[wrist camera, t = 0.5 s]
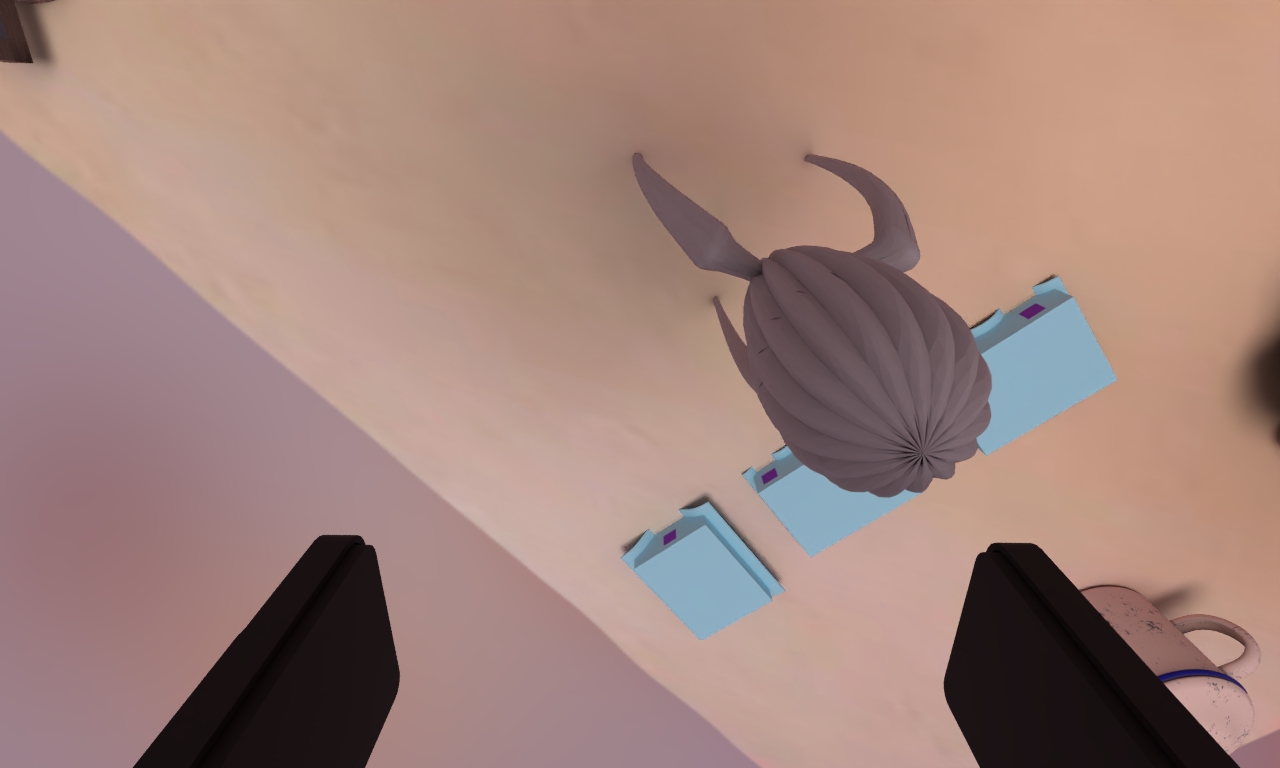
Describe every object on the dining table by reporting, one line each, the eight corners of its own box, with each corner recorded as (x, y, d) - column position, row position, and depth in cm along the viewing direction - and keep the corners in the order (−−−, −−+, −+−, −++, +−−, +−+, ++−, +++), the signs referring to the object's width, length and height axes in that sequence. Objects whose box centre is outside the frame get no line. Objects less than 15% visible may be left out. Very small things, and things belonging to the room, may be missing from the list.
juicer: (634, 304, 40) (601, 722, 12) (634, 152, 36) (588, 252, 9) (798, 305, 40) (1143, 730, 12) (813, 153, 36) (1354, 256, 8)
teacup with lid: (1059, 685, 52) (1166, 832, 41) (1015, 616, 49) (1117, 754, 38) (1207, 620, 49) (1363, 760, 38) (1168, 543, 46) (1326, 671, 36)
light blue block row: (621, 541, 48) (698, 621, 50) (619, 567, 45) (700, 650, 48) (1046, 268, 39) (1108, 384, 42) (1076, 280, 36) (1140, 402, 39)
